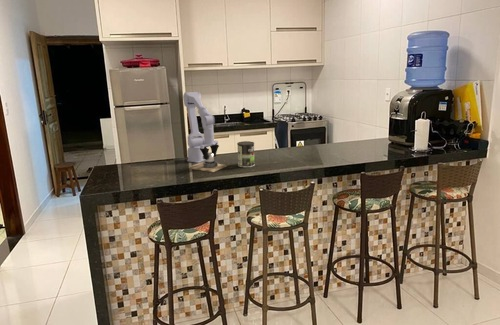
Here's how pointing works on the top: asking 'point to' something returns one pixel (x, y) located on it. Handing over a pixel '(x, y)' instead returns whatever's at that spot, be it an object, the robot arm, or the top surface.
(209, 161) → the aluminium piston
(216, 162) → the steel ring
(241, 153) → the coffee can
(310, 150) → the top surface
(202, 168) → the birch board
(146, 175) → the top surface
